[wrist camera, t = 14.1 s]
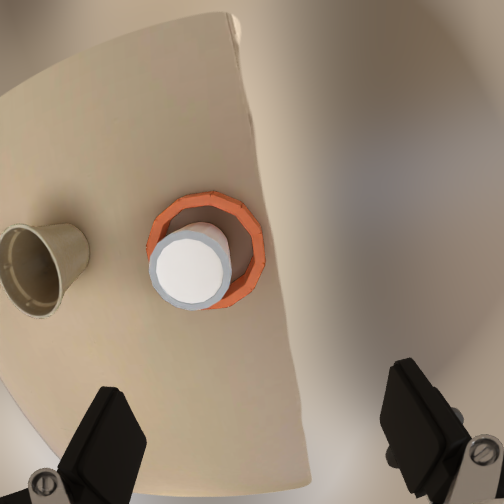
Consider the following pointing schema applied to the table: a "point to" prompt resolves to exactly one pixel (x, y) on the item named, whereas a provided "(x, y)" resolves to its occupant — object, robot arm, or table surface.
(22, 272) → the flower pot
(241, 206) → the ring
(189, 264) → the white cylinder
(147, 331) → the table surface
